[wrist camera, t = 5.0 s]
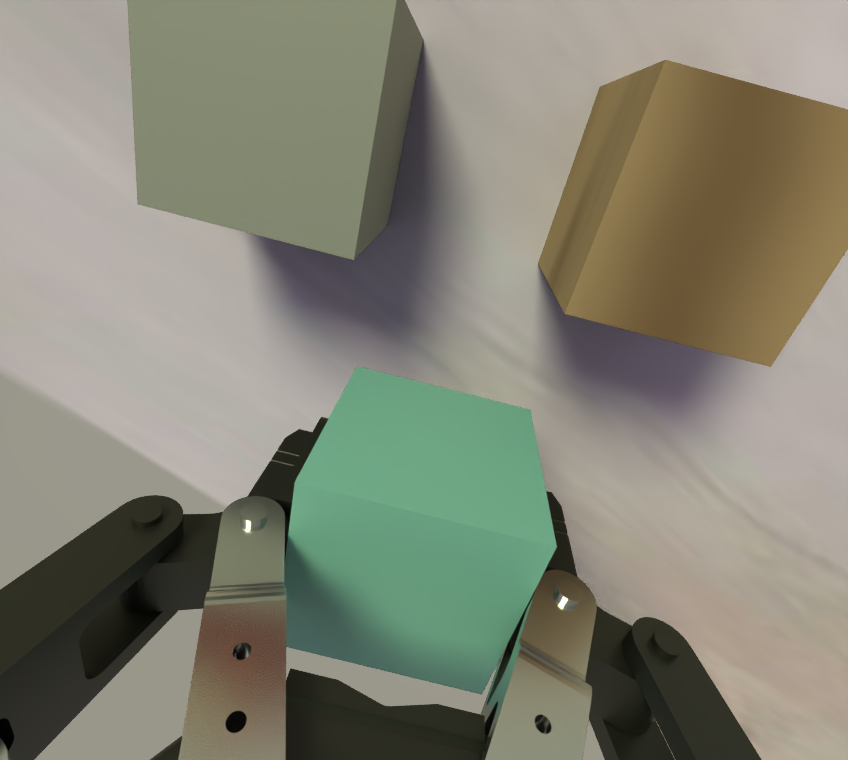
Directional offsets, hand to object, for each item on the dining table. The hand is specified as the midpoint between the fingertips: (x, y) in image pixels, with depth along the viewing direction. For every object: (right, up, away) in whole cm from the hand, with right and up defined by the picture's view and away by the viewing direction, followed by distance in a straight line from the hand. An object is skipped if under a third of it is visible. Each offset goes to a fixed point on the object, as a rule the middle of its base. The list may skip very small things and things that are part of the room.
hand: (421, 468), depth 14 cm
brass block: (+7, +8, 0) cm, 10 cm away
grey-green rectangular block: (-3, +10, 0) cm, 11 cm away
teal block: (0, 0, 0) cm, 1 cm away
